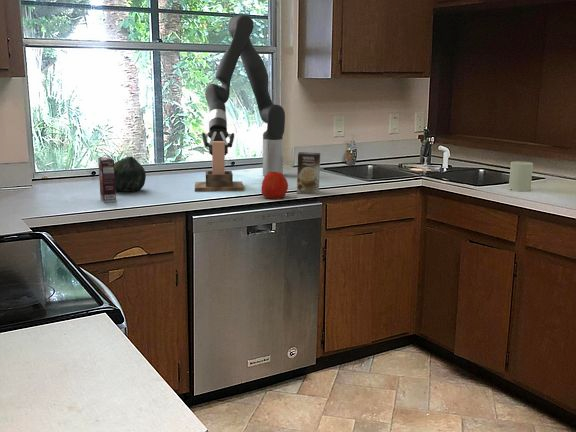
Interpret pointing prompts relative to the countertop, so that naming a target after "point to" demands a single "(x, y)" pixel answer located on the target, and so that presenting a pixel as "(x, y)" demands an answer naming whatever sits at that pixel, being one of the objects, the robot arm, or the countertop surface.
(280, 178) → the apple
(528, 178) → the can
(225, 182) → the sleeve holder
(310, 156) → the coffee box
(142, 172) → the squash
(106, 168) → the supplement box
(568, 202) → the countertop surface
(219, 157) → the terracotta peg
